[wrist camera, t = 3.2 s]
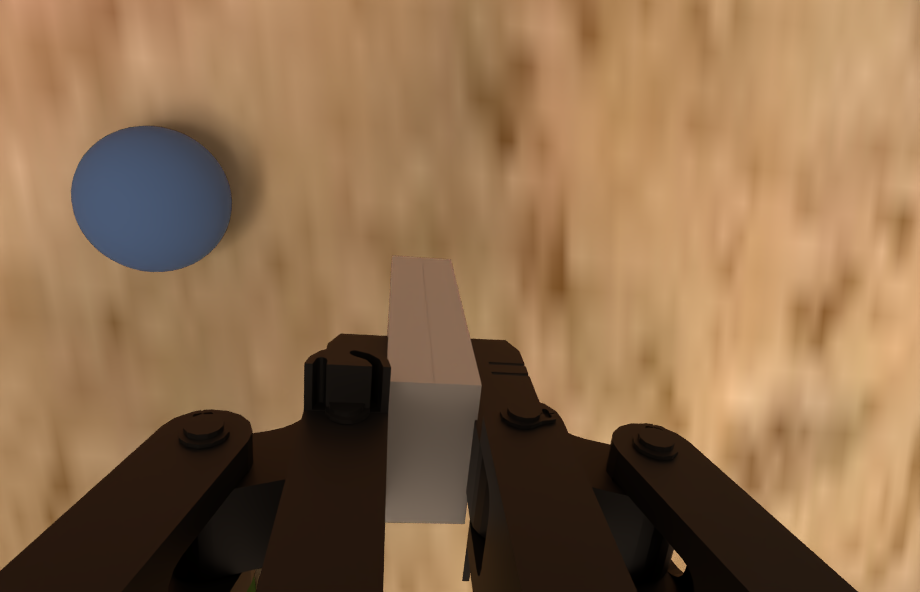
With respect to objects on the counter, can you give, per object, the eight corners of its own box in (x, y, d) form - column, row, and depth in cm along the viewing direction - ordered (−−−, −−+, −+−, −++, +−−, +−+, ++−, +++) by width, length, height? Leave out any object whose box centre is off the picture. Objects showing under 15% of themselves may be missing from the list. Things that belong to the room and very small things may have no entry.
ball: (115, 244, 27) (51, 288, 22) (102, 113, 25) (29, 128, 20) (246, 252, 28) (213, 296, 23) (244, 125, 26) (206, 142, 21)
